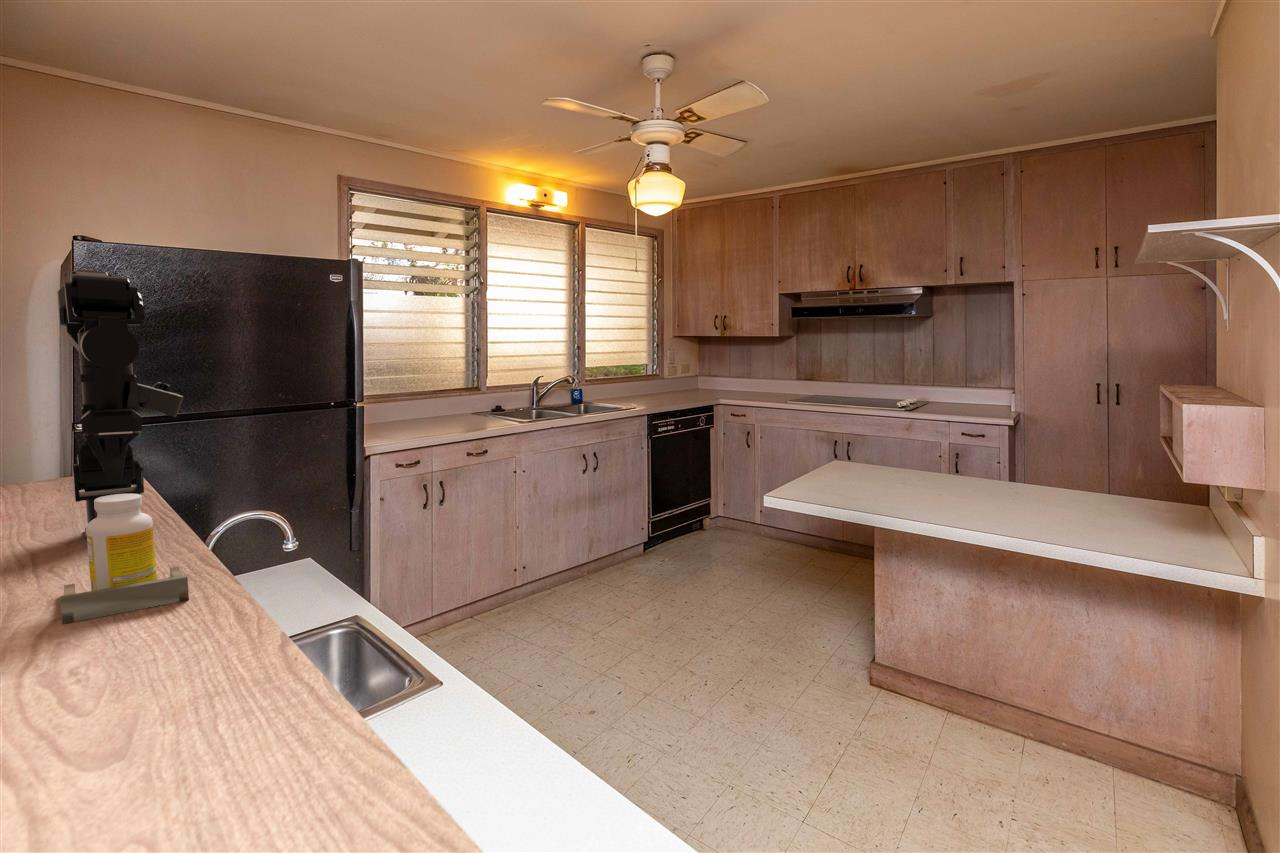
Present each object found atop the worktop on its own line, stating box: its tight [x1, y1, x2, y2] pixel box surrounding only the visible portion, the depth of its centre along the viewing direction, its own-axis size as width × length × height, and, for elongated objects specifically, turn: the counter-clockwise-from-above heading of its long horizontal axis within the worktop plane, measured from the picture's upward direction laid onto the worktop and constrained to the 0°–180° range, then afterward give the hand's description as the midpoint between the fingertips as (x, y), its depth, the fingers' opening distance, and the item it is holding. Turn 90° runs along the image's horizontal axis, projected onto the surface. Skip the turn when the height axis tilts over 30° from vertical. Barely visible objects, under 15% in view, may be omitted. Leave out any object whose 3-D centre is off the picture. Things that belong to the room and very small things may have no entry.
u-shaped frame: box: [59, 566, 190, 625], centre depth 83 cm, size 11×12×3 cm
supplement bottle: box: [85, 494, 158, 591], centre depth 83 cm, size 7×7×13 cm
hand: (114, 475), depth 93 cm, fingers open, 9 cm apart
